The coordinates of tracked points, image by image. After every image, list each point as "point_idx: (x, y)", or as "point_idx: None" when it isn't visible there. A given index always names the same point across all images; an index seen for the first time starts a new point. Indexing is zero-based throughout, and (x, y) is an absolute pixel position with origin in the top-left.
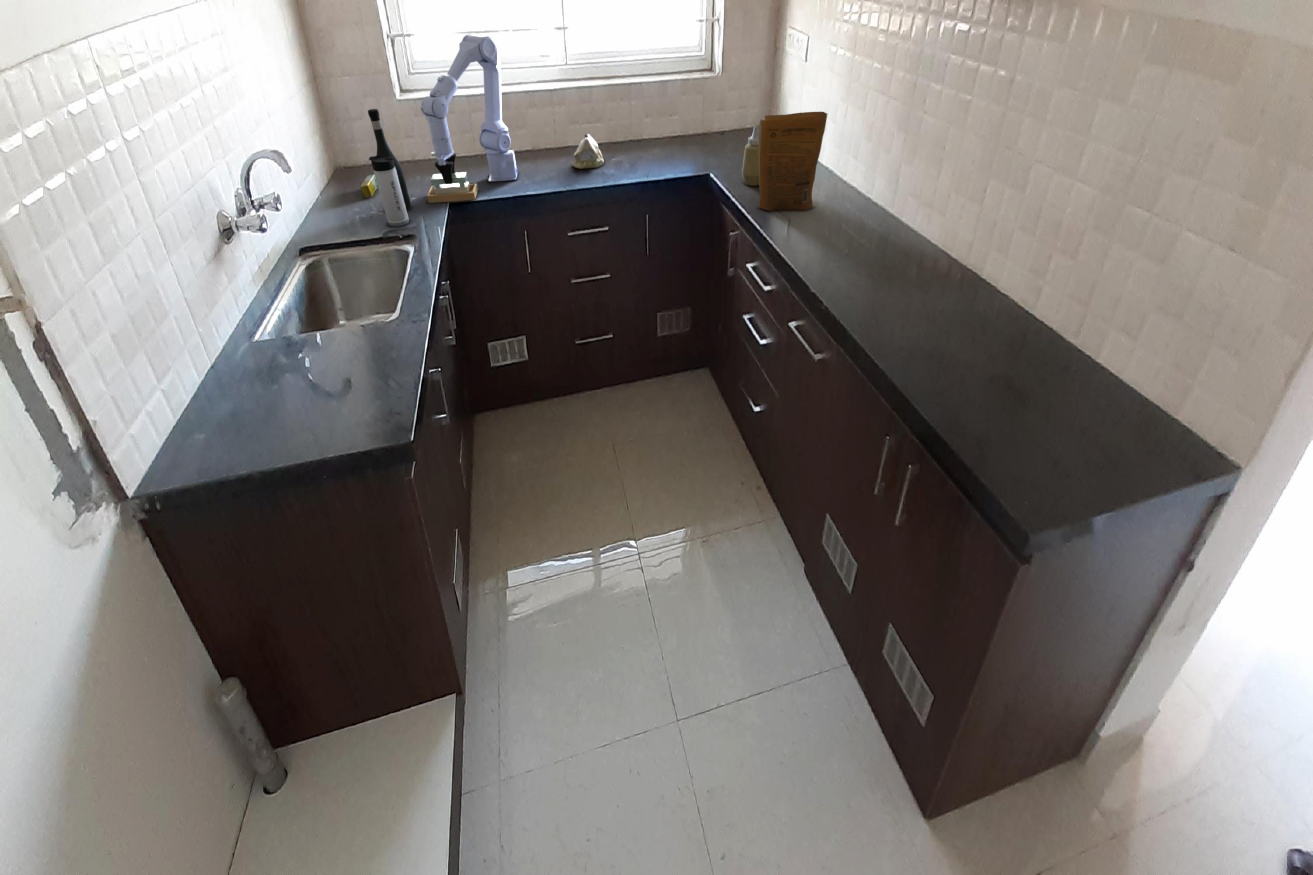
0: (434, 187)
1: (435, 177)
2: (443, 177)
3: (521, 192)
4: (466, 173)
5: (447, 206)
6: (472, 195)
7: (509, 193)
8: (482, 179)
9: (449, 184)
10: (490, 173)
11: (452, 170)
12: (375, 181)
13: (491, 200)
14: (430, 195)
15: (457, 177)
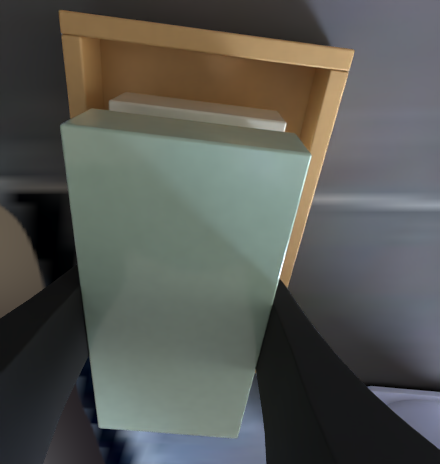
0: (171, 116)
1: (145, 194)
2: (28, 308)
3: (169, 459)
4: (213, 433)
5: (4, 180)
6: None
7: (169, 433)
8: (436, 360)
9: None
10: (413, 426)
11: (265, 384)
12: None
13: (91, 381)
14: (69, 55)
15: (99, 390)
